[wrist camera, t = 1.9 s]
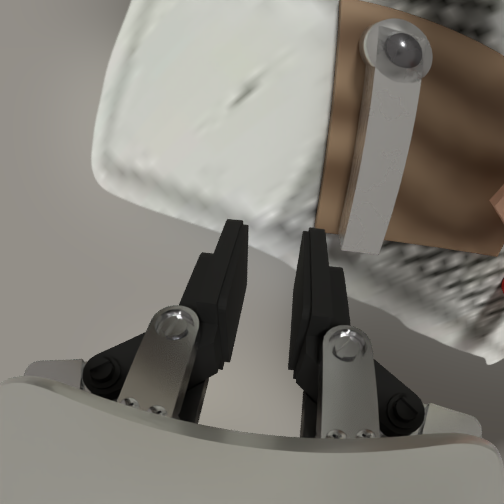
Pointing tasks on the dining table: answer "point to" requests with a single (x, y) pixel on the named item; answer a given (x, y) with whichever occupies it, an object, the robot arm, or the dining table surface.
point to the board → (426, 138)
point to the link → (383, 129)
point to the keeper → (499, 202)
